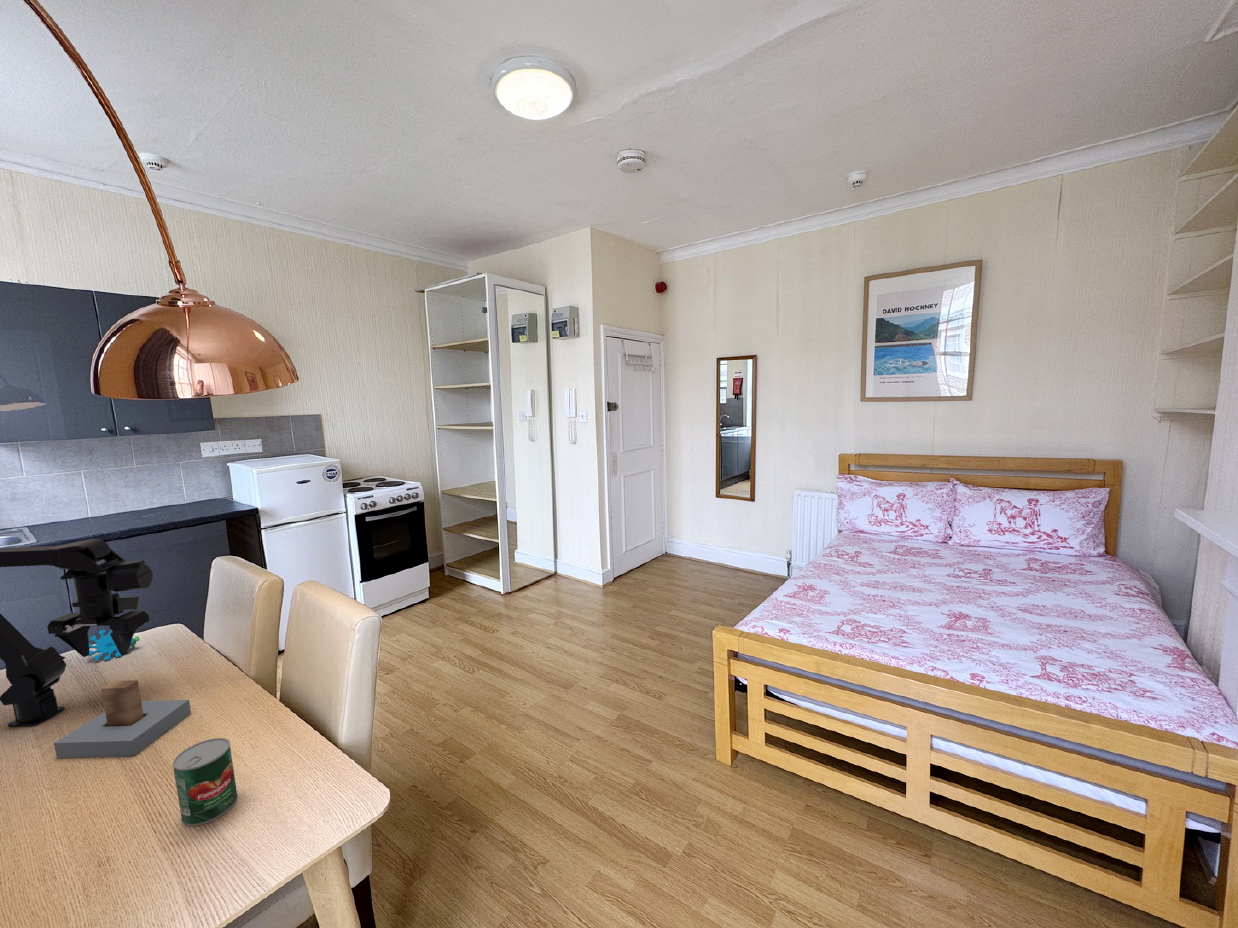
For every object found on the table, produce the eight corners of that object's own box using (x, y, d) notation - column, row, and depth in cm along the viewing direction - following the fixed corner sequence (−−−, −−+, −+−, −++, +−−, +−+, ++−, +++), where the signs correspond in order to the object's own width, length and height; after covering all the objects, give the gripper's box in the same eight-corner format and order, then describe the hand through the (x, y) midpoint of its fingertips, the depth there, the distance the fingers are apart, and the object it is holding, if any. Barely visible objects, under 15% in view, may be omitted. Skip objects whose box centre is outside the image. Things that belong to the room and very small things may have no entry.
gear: (80, 662, 138) (89, 628, 144) (84, 670, 142) (92, 636, 147) (135, 654, 145) (141, 622, 150) (138, 662, 149) (143, 631, 154)
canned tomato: (208, 790, 93) (199, 737, 92) (248, 790, 93) (241, 737, 92) (168, 826, 86) (159, 769, 84) (213, 826, 85) (204, 769, 84)
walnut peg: (110, 739, 108) (101, 688, 107) (123, 730, 111) (114, 680, 110) (133, 738, 109) (124, 687, 107) (146, 729, 111) (137, 680, 110)
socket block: (56, 758, 103) (53, 742, 102) (122, 715, 117) (120, 701, 116) (134, 756, 103) (131, 740, 103) (191, 713, 117) (188, 699, 116)
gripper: (164, 579, 125) (174, 638, 127) (90, 581, 125) (100, 640, 127) (121, 597, 114) (132, 661, 116) (39, 600, 114) (52, 663, 116)
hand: (105, 655), depth 119 cm, fingers open, 9 cm apart
